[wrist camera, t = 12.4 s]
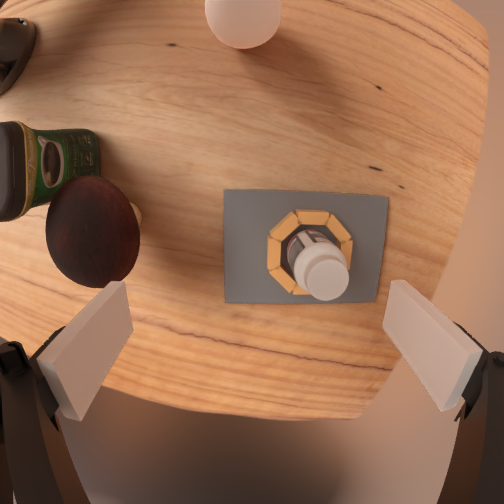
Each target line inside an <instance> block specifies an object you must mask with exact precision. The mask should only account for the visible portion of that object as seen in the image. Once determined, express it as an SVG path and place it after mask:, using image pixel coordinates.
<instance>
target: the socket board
mask: <svg viewBox="0 0 504 504" xmlns="http://www.w3.org/2000/svg"><path fill="white" fill-rule="evenodd" d="M388 198H389V197H385V196H375V195H363V194H350V193H334V192H317V191H295V190H262V189H224V286H225V303H247V304H321V303H360V302H375V299H376V293H377V288H378V282H379V276H380V269H381V263H382V256H383V248H384V240H385V231H386V221H387V210H388ZM303 230H316V231H319V232H321V233H322V234H323V235H325V236H326V237H327V238H328V239H329V240H330V241H331V242H332V243H333V244H334V245H335V246H337V247H338V248H339V249H340V250H341V252H342V253H343V254H344V256H345V259H346V262H347V270H348V274H349V282H348V286H347V288H346V290H345V291H344V292H343V293H342V294H341V295H340V296H339V297H337V298H335V299H333V300H328V301H323V300H319V299H317V298H315V297H313V296H312V295H311V294H310V293H307V292H306V291H304V290H303V289H302V288H301V287H300V286H299V285H298V283H297V282H296V280H295V277H294V274H293V272H292V269H291V267H290V264H289V262H288V259H287V246H288V243H289V242H290V240H291V238H292V237H293V236H294V235H296V234H297V233H298V232H300V231H303Z"/></svg>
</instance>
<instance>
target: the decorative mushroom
mask: <svg viewBox="0 0 504 504" xmlns="http://www.w3.org/2000/svg"><path fill="white" fill-rule="evenodd" d="M141 222H142V215H141V212H140V210H139V208H138V207H137V206H136V205H135V204H133V203H130V202H129V201H128V199H127V198H126V196H125V195H124V194H123V193H122V192H121V191H120V190H119V189H118V188H117V187H116V186H115V185H114V184H112V183H111V182H109V181H108V180H106V179H104V178H101V177H98V176H91V175H84V176H78V177H75V178H72V179H70V180H68V181H67V182H65V183H64V184H63V185H62V186H61V187H60V188H59V189H58V190H57V192H56V193H55V195H54V197H53V199H52V200H51V203H50V206H49V209H48V213H47V219H46V230H45V231H46V241H47V246H48V250H49V253H50V255H51V257H52V259H53V261H54V263H55V265H56V266H57V268H58V269H59V270H60V271H61V272H62V273H63V274H64V275H65V276H66V277H68V278H69V279H71V280H72V281H74V282H76V283H78V284H80V285H83V286H86V287H90V288H105V287H106V286H107V285H108V284H109V283H110V282H111V281H121V280H123V279H124V278H125V277H126V276H127V275H128V274H129V273H130V271H131V270H132V268H133V267H134V264H135V262H136V259H137V256H138V253H139V247H140V231H139V227H140V224H141Z"/></svg>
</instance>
